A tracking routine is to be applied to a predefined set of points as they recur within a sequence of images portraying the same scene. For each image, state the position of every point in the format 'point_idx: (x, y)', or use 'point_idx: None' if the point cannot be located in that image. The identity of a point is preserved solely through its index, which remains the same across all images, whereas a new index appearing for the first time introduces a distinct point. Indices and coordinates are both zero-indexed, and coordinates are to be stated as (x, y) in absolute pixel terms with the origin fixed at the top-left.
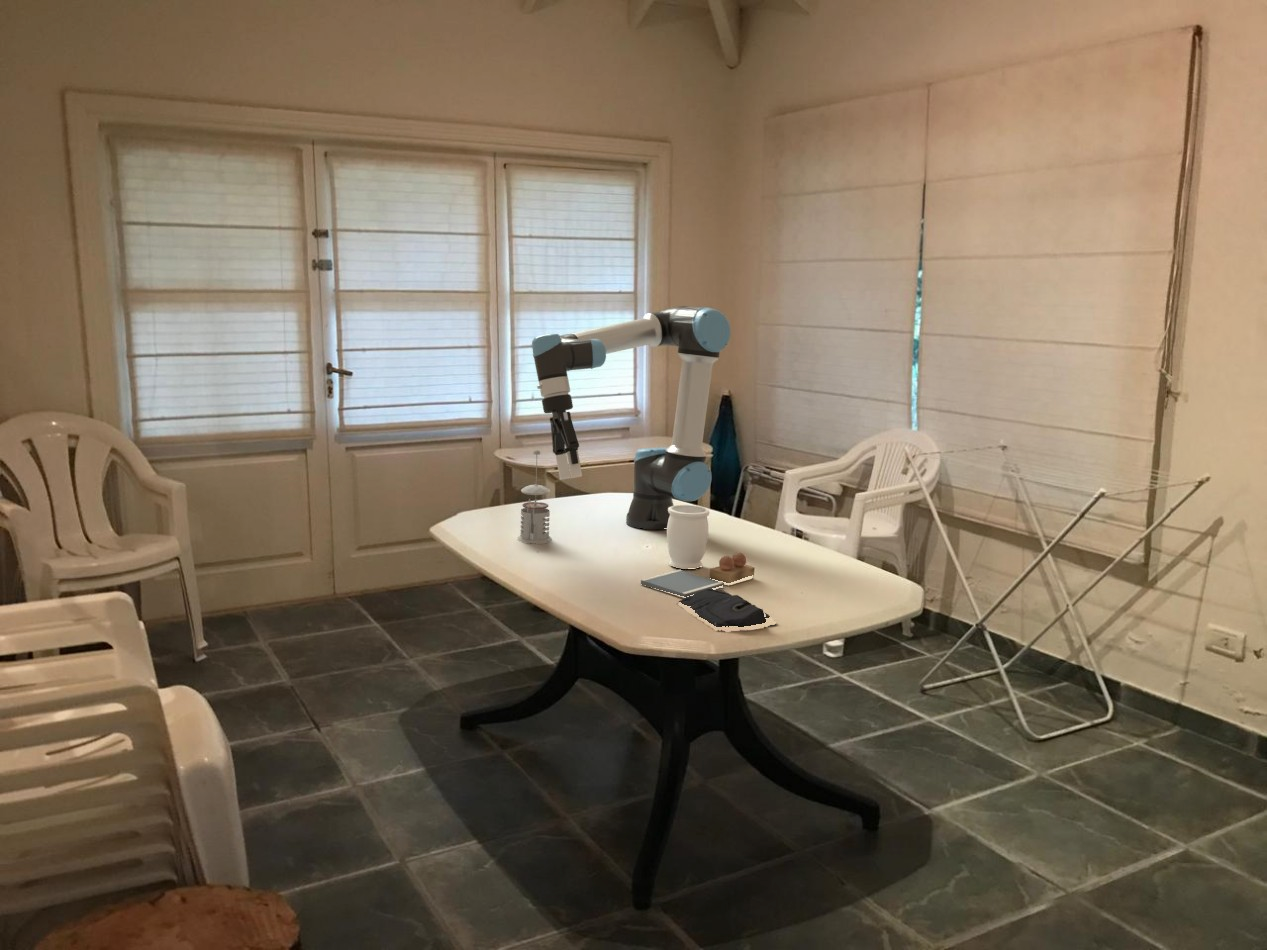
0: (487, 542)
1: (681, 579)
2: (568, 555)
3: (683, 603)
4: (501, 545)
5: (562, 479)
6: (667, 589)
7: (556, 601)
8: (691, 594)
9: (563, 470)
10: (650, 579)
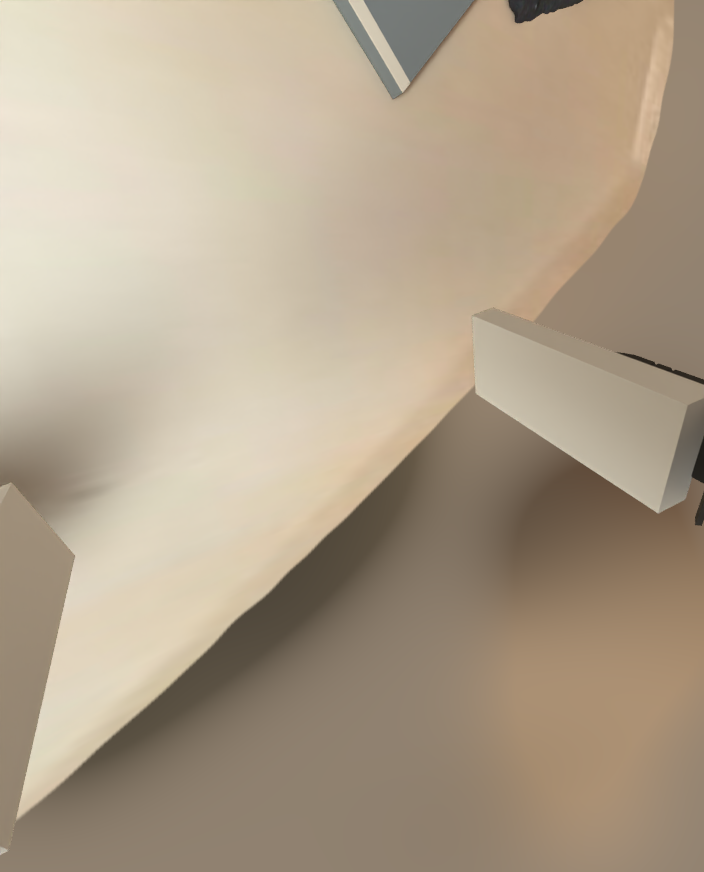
0: None
1: None
2: (103, 368)
3: (533, 2)
4: None
5: (62, 545)
6: (460, 17)
7: None
8: None
9: (28, 593)
10: (394, 53)
